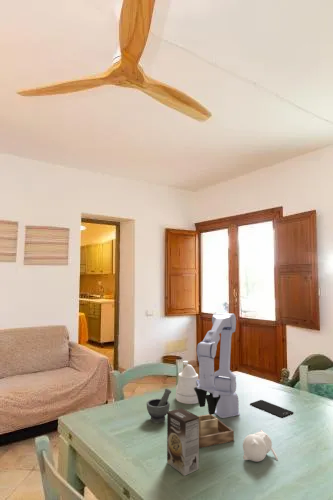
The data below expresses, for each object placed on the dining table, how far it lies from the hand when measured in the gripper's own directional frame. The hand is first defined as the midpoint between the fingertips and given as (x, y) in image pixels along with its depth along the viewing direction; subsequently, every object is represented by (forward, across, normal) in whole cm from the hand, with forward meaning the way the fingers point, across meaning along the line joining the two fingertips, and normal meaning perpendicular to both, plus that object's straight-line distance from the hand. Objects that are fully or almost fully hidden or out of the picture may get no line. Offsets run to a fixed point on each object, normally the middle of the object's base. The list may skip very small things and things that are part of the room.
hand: (206, 410), depth 124 cm
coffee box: (+10, +15, -17) cm, 25 cm away
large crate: (+9, 0, 0) cm, 9 cm away
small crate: (+9, 0, 0) cm, 9 cm away
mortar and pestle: (+10, -20, -12) cm, 25 cm away
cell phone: (+10, -12, +40) cm, 43 cm away
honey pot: (+10, -37, +10) cm, 39 cm away
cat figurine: (+10, +20, +9) cm, 24 cm away
